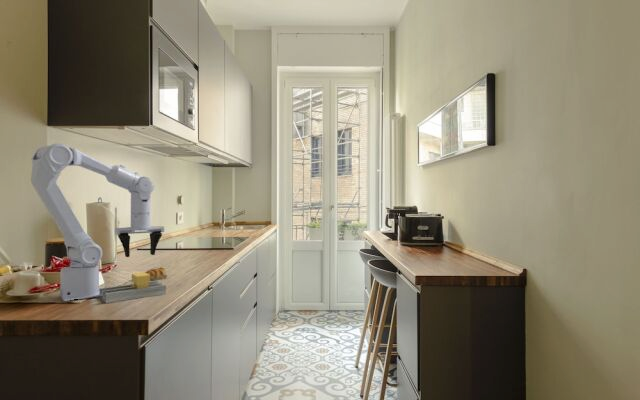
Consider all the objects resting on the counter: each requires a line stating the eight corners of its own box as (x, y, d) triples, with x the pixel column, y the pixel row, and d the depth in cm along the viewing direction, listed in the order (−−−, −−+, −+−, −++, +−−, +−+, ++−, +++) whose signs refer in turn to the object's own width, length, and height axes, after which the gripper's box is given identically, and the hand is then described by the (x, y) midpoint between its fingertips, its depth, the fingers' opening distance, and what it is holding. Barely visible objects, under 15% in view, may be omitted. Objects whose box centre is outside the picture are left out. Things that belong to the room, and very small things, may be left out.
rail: (105, 303, 103) (105, 294, 103) (99, 297, 109) (99, 288, 109) (165, 293, 113) (166, 285, 113) (156, 288, 120) (156, 280, 120)
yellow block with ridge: (136, 293, 109) (136, 276, 109) (131, 290, 113) (131, 273, 113) (149, 291, 111) (150, 274, 111) (144, 288, 115) (144, 272, 115)
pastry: (144, 283, 128) (144, 272, 128) (133, 281, 131) (133, 270, 131) (169, 278, 135) (169, 267, 135) (158, 276, 139) (158, 266, 139)
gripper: (119, 214, 115) (118, 259, 115) (167, 213, 124) (167, 254, 124) (113, 213, 120) (113, 256, 120) (160, 212, 130) (160, 252, 130)
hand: (140, 255), depth 123 cm, fingers open, 7 cm apart
